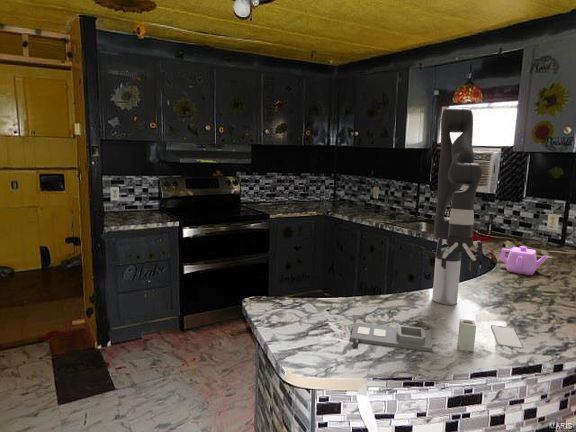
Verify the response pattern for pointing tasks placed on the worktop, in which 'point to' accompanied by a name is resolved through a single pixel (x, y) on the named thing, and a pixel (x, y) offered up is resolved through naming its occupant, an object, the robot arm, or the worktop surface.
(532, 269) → the teakettle
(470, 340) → the block
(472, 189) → the robot arm
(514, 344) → the smartphone
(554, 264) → the worktop surface
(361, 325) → the power strip
